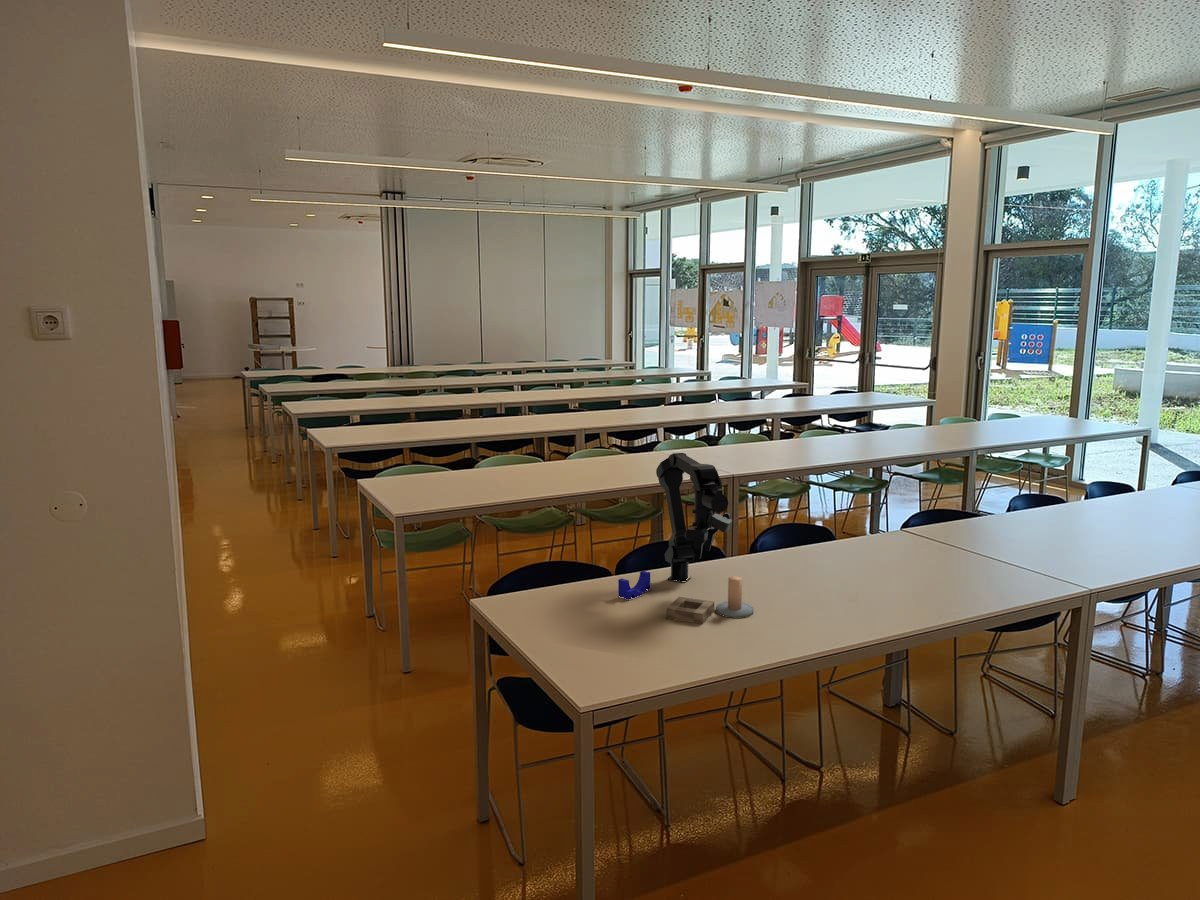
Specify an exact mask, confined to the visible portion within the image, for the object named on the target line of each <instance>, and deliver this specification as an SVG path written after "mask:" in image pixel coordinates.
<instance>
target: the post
mask: <svg viewBox="0 0 1200 900" xmlns="http://www.w3.org/2000/svg"><path fill="white" fill-rule="evenodd" d="M727 581H728V582H727V602H728V609H730V610H740V609H741V607H742V603H743V601H742V599H743V597H742V596H743V594H742V593H743V578H742V577H741V576H729V577H728V579H727Z"/></svg>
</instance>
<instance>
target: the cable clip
mask: <svg viewBox="0 0 1200 900" xmlns="http://www.w3.org/2000/svg"><path fill="white" fill-rule="evenodd" d="M617 581H618V589H617V590H618V593H617V594H618V597H619V596H620V597H624V598H626V599H631V597H632V598H635V597H637V596H640V595H642V596H643V593H642V592H644V593H646V592H648V591H647V590H646V589H648V590H649V589H650V590H651V571H647V570H646V571H645V570H641V571H639V577H638V580H637V582H636V584H635V585H634V586H633V587H632V588H631V586H630V580H629V579H626V578H619V579H618V580H617ZM650 590H649V591H650ZM645 591H646V592H645ZM640 597H641V596H640ZM635 599H636V598H635Z"/></svg>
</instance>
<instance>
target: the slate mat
mask: <svg viewBox="0 0 1200 900" xmlns="http://www.w3.org/2000/svg"><path fill="white" fill-rule="evenodd" d="M716 611H717V612H718V613H719V614H721V615H720V616H722V615H724V616H723V617H725V616H727V617H726V618H730V617H737V618H736V619H739V618H738V617H744V618H747V617H746V616H748V617H750V616H749V615H751V614H752V615H753V614H754V613H753V612H754V607H753V606H752V605H750V604H749V603H745V602H742V607H741V609H740V610H730V609H728V601H723V602H721V603H718V604H716V606H715V612H716ZM717 612H716V613H717ZM718 613H717V614H718ZM719 614H718V615H719ZM752 615H751V616H752Z"/></svg>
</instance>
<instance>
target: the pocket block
mask: <svg viewBox="0 0 1200 900" xmlns="http://www.w3.org/2000/svg"><path fill="white" fill-rule="evenodd" d="M713 611H714V612H715V601H711V600H705V599H699V598H692V597H691V598H690V597H683V596H678V597H677V598H675V600H673V602H672V603H670V604H669V606H667V607H666V608H665V619H666V620H667V619H668V620H674V621H680V622H685V623H687V622H689V623H694V624H699V623H701V625H704V623H705V622H706V621H707V620H708V619H709V618H710V617H711V615H712V614H713V613H714V612H713ZM709 616H710V617H709ZM708 617H709V618H708ZM707 618H708V619H707ZM706 619H707V620H706Z"/></svg>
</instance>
